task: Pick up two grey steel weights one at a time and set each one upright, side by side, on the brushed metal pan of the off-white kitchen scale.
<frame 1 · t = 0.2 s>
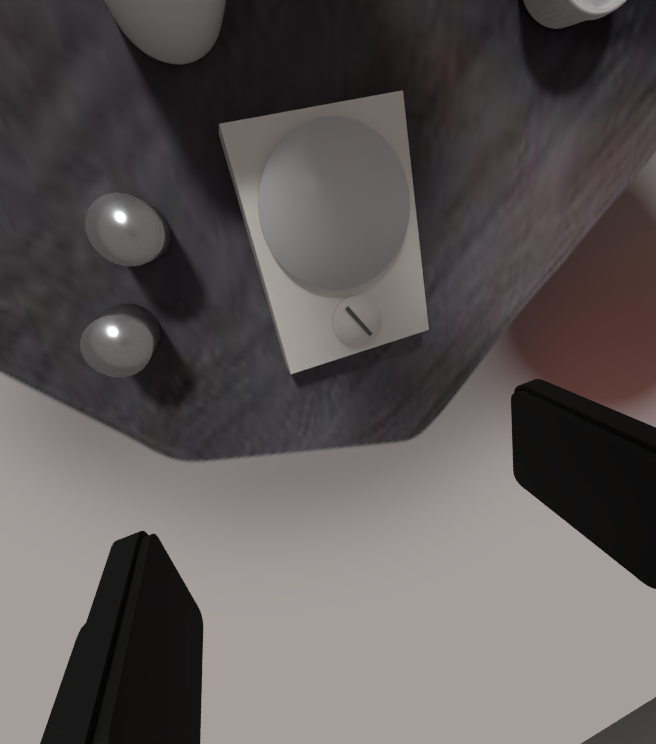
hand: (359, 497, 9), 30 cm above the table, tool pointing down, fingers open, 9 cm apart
scale: (332, 243, 37), on the table
steel weight 2: (139, 231, 32), on the table
steel weight 1: (131, 330, 34), on the table
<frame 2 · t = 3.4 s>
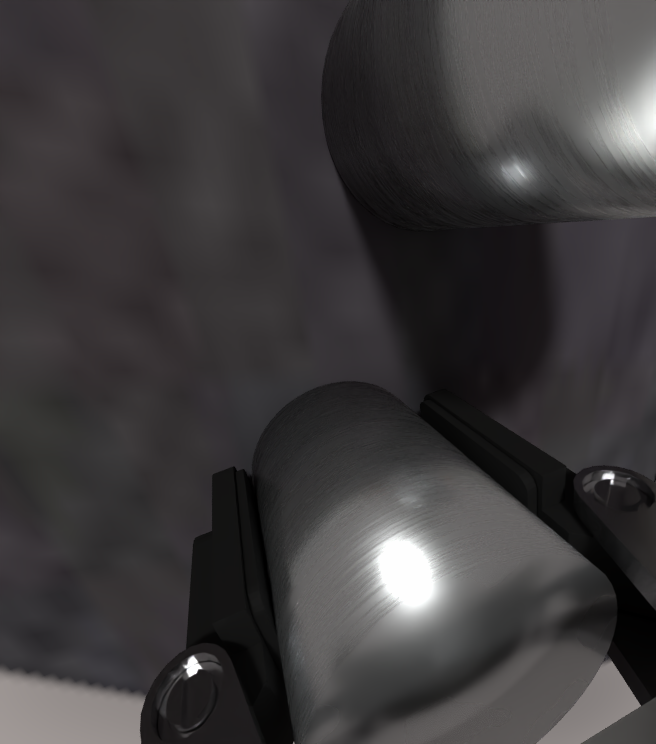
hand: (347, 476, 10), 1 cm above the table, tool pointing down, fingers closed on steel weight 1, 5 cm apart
steel weight 2: (429, 110, 8), on the table
steel weight 1: (339, 462, 10), on the table, touching gripper
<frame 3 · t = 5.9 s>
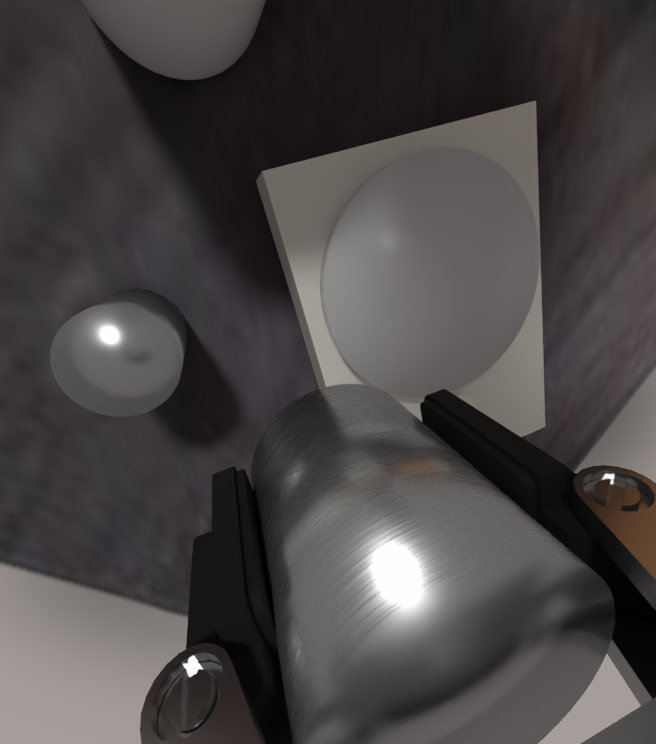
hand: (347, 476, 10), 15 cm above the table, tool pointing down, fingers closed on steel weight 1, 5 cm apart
scale: (414, 321, 26), on the table
steel weight 2: (141, 332, 21), on the table
steel weight 1: (339, 464, 10), point 14 cm above the table, touching gripper
when the fingers open (6 cm above the table, at t = 8.8 s): steel weight 1 drops 1 cm, resting on scale.
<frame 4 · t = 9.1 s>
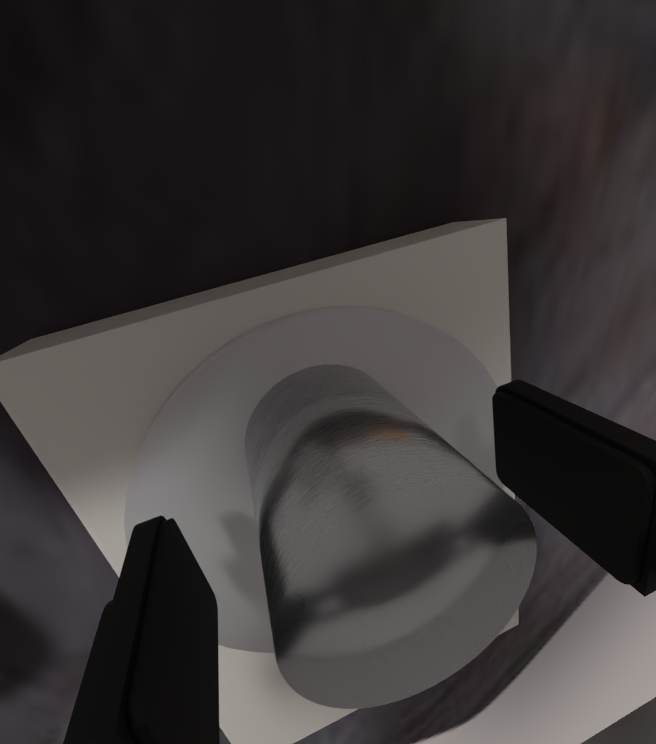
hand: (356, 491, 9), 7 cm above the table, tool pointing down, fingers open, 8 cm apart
scale: (330, 498, 18), on the table
steel weight 1: (323, 437, 12), point 4 cm above the table, touching scale
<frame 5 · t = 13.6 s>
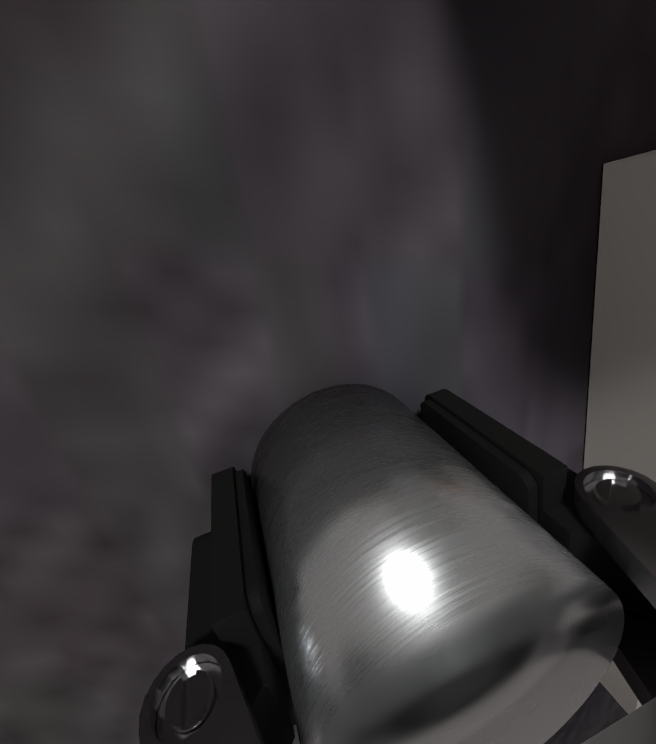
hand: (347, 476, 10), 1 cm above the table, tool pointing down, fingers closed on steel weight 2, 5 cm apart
steel weight 2: (340, 464, 10), on the table, touching gripper
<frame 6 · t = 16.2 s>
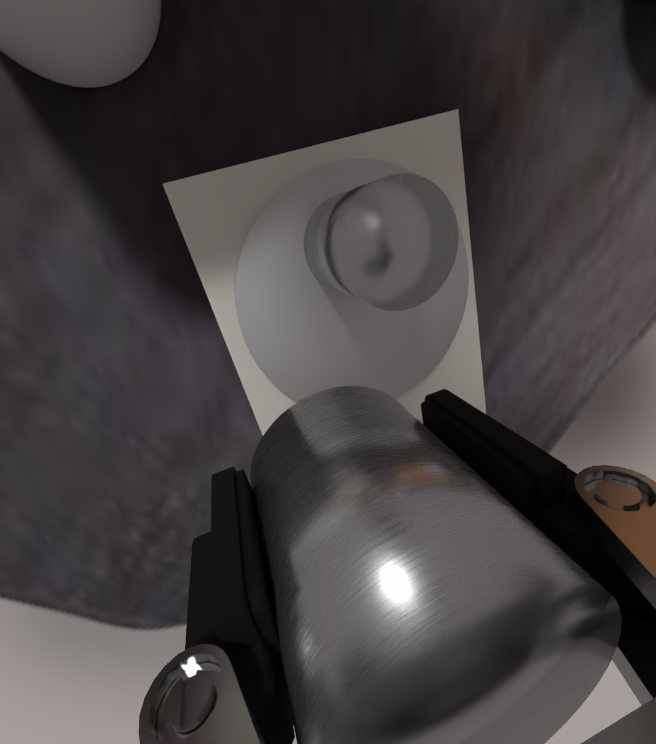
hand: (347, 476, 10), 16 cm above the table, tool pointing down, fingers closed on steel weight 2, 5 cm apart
scale: (350, 331, 25), on the table
steel weight 2: (338, 466, 10), point 15 cm above the table, touching gripper
steel weight 1: (349, 244, 19), point 4 cm above the table, touching scale
when the fingers open (6 cm above the table, at t = 18.8 s): steel weight 2 drops 1 cm, resting on scale.
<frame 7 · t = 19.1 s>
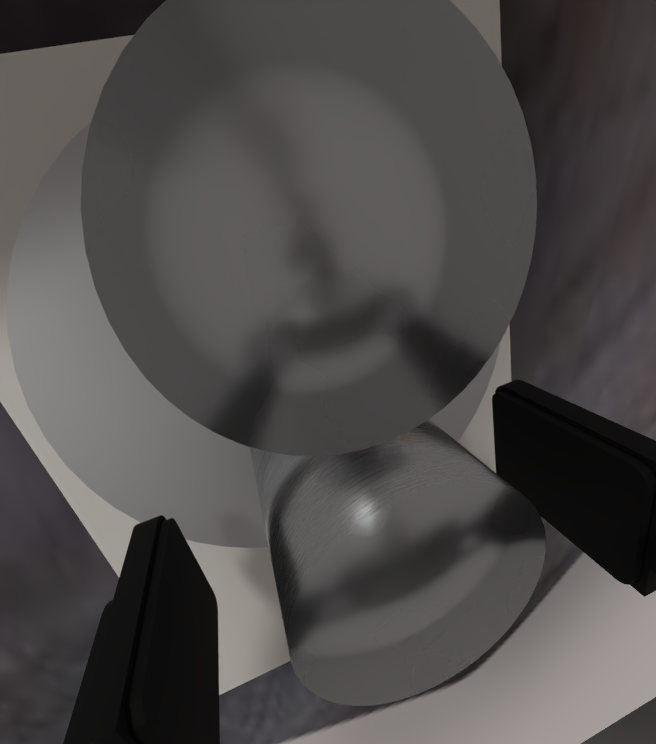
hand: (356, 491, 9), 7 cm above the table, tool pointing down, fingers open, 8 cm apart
scale: (299, 392, 15), on the table
steel weight 2: (328, 436, 12), point 4 cm above the table, touching scale
steel weight 1: (270, 247, 9), point 4 cm above the table, touching scale
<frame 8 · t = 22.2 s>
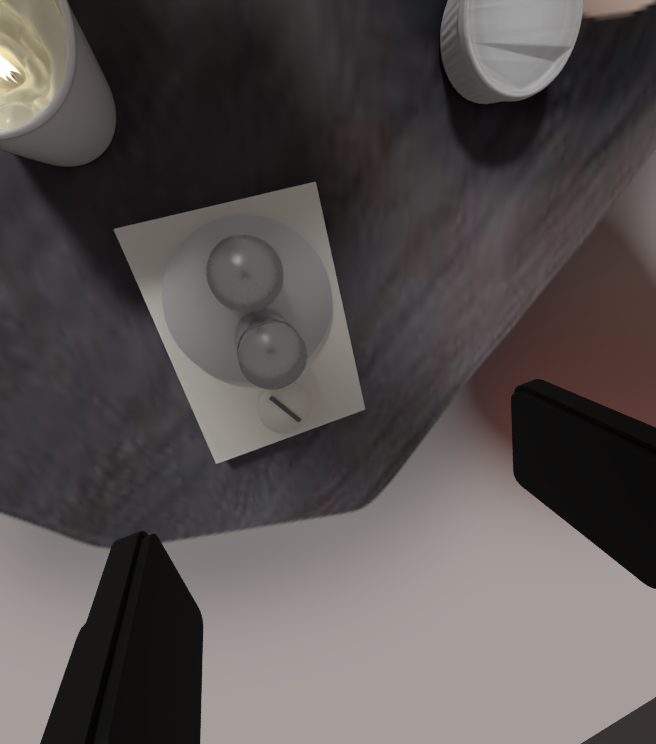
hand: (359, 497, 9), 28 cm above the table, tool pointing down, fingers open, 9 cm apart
ramekin: (480, 44, 33), on the table
candle holder: (52, 102, 26), on the table
scale: (257, 328, 35), on the table
steel weight 2: (263, 337, 32), point 4 cm above the table, touching scale
steel weight 1: (240, 268, 29), point 4 cm above the table, touching scale
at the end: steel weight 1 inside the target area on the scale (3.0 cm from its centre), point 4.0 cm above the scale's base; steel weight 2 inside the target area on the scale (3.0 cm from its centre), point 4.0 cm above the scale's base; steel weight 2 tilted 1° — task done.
